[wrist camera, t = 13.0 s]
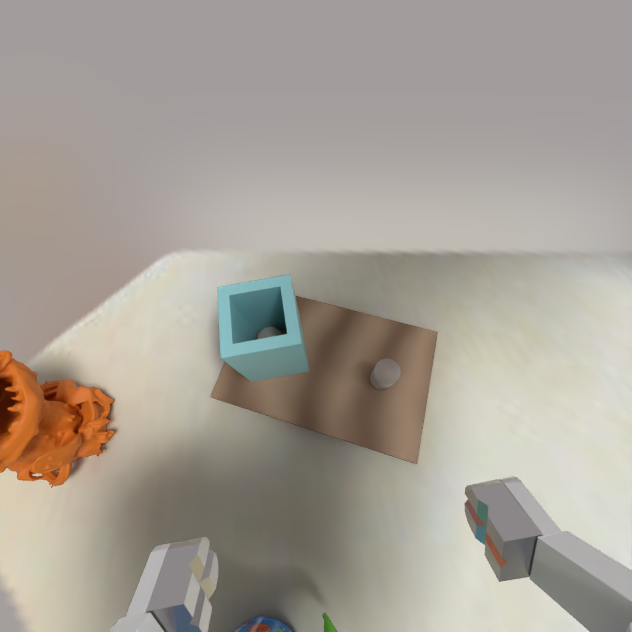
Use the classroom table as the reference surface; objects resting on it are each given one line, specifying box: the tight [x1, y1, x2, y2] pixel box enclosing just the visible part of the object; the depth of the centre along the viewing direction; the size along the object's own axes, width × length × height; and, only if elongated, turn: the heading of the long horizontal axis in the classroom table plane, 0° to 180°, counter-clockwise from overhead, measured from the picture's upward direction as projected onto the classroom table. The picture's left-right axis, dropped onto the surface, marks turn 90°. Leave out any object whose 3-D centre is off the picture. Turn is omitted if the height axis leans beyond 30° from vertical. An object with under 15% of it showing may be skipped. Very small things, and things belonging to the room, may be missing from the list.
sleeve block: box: [217, 274, 309, 382], centre depth 29 cm, size 6×6×10 cm
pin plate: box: [211, 296, 438, 464], centre depth 32 cm, size 22×14×6 cm, turn 73°
